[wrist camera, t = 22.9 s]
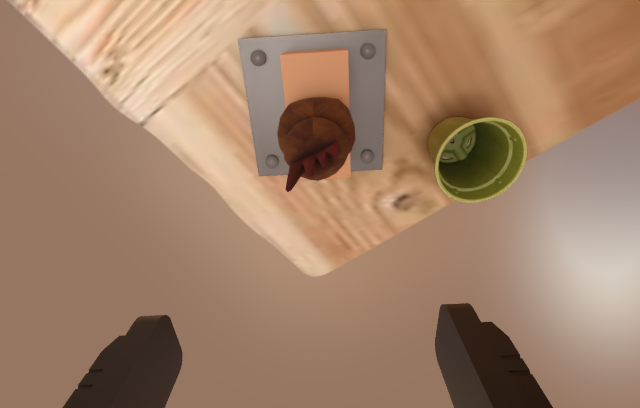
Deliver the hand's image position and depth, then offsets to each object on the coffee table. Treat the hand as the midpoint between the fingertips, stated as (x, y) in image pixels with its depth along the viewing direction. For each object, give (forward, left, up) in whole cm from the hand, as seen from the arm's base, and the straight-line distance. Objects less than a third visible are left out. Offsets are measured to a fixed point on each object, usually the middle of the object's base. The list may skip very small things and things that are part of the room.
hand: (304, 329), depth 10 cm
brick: (0, 0, -33) cm, 33 cm away
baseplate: (0, 0, -34) cm, 34 cm away
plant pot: (-17, +5, -34) cm, 39 cm away
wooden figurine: (0, 0, -27) cm, 27 cm away
